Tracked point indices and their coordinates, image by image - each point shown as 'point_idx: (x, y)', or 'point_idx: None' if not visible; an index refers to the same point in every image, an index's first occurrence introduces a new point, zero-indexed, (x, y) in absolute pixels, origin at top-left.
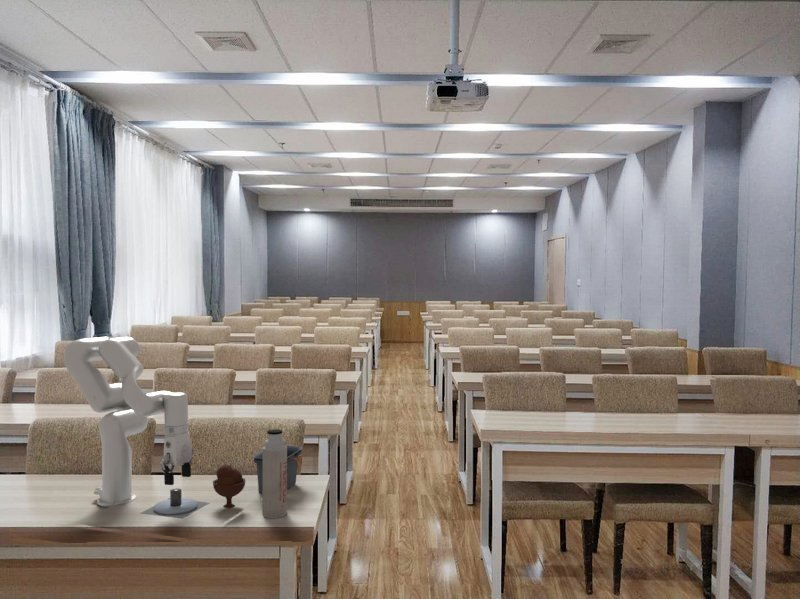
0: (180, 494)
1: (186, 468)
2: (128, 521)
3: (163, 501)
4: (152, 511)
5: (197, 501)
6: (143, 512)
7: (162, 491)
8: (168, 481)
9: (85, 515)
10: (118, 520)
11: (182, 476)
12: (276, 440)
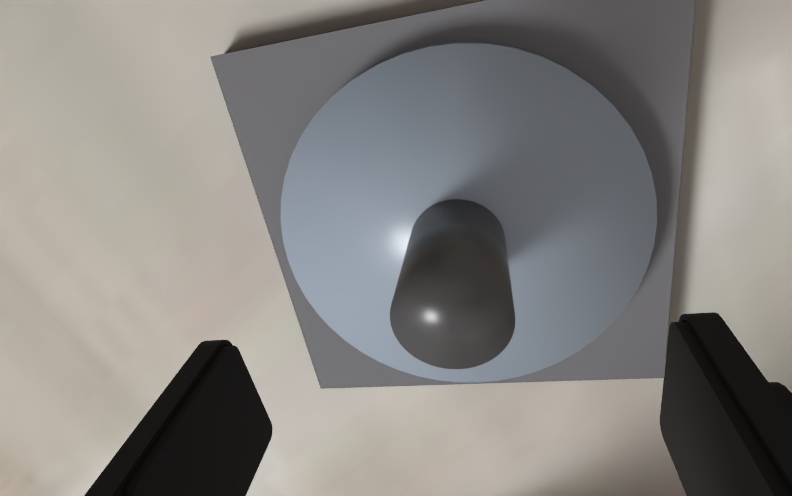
0: (447, 244)
1: (186, 488)
2: (786, 364)
3: (436, 367)
4: None
5: (254, 181)
6: (645, 366)
7: None
8: (787, 407)
9: None
10: None
11: (267, 426)
12: None
